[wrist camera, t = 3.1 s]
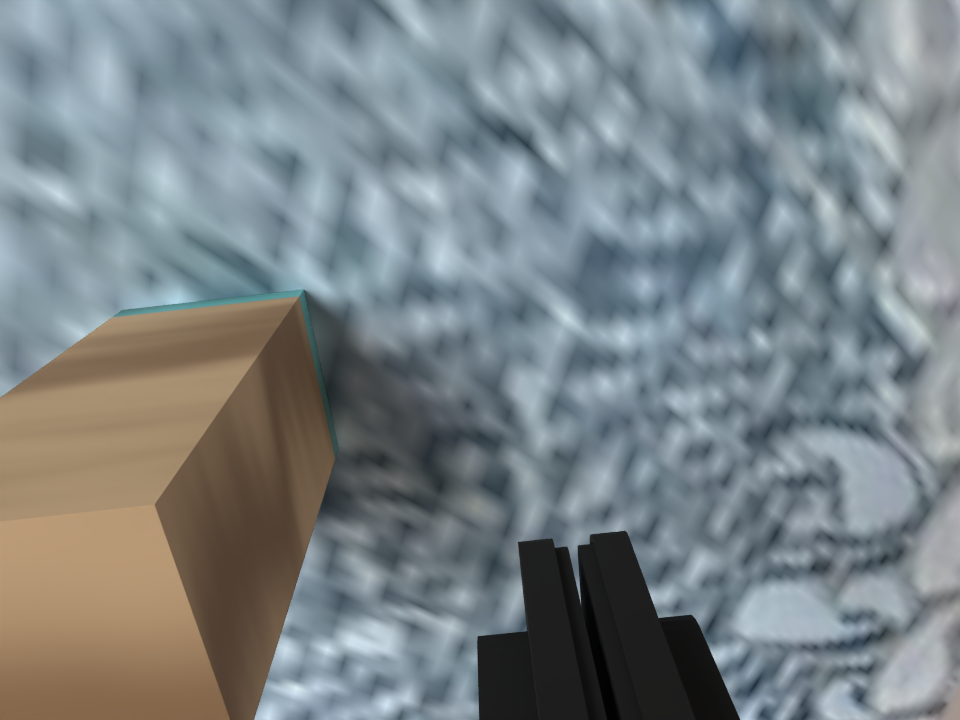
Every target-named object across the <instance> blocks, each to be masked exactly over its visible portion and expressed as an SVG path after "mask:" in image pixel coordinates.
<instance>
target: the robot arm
mask: <svg viewBox="0 0 960 720" xmlns="http://www.w3.org/2000/svg"><path fill="white" fill-rule="evenodd" d="M518 547H519V557H520V566H521V576H522V585H523V595H524V604H525V614H526V624H527V631H526V632H516V633H506V634H496V635H486V636H478V640H477V650H478V687H479V720H740V718H739V716H738V714H737V711H736V709H735V707H734V704H733V702H732V700H731V698H730V695H729V693H728V691H727V688H726V686H725V684H724V681H723V679H722V677H721V675H720V672H719V670H718V668H717V665H716V663H715V661H714V659H713V656H712V654H711V652H710V649H709V647H708V645H707V643H706V640H705V638H704V636H703V633H702V631H701V629H700V627H699V625H698V623H697V621H696V619H695V618H694V617H693V616H692V615H684V616H674V617H664V618H658V615H657V613H656V610H655V607H654V604H653V602H652V599H651V596H650V594H649V591H648V588H647V585H646V583H645V580H644V577H643V574H642V572H641V569H640V566H639V564H638V561H637V558H636V555H635V553H634V550H633V547H632V544H631V542H630V539H629V536H628V534H627V532H626V531H620V532H610V533H600V534H591V535H590V544H588V545H578V562H579V577H580V593H581V603H580V599H579V594H578V590H577V586H576V581H575V577H574V572H573V568H572V564H571V559H570V555H569V550H568V547H559V548H555V547H554V543H553V539H542V540H533V541H523V542H518Z"/></svg>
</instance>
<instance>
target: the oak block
mask: <svg viewBox="0 0 960 720" xmlns="http://www.w3.org/2000/svg"><path fill="white" fill-rule="evenodd" d="M337 452H338V444H337V439H336V435H335V430H334V426H333V421H332V416H331V412H330V407H329V403H328V398H327V393H326V389H325V384H324V380H323V375H322V370H321V366H320V361H319V357H318V352H317V347H316V343H315V338H314V334H313V329H312V324H311V320H310V315H309V311H308V306H307V301H306V297H305V292H304V290H296V291H287V292H278V293H269V294H261V295H252V296H243V297H234V298H225V299H216V300H208V301H199V302H190V303H181V304H172V305H163V306H154V307H146V308H137V309H128V310H122V311H120V312H119V313H118V314H116V315H115V316H113V317H112V318H111V319H109V320H108V321H106V322H105V323H104V324H102V325H101V326H99V327H98V328H97V329H95V330H94V331H93V332H91V333H90V334H88V335H87V336H86V337H84V338H83V339H81V340H80V341H79V342H77V343H76V344H74V345H73V346H72V347H70V348H69V349H67V350H66V351H65V352H63V353H62V354H60V355H59V356H58V357H56V358H55V359H54V360H52V361H51V362H49V363H48V364H47V365H45V366H44V367H42V368H41V369H40V370H38V371H37V372H35V373H34V374H33V375H31V376H30V377H28V378H27V379H26V380H24V381H23V382H21V383H20V384H19V385H17V386H16V387H14V388H13V389H12V390H10V391H9V392H8V393H6V394H5V395H3V396H2V397H1V398H0V720H254V718H255V715H256V711H257V708H258V705H259V702H260V699H261V695H262V692H263V689H264V686H265V683H266V679H267V676H268V673H269V670H270V667H271V663H272V660H273V657H274V654H275V651H276V647H277V644H278V641H279V638H280V634H281V631H282V628H283V625H284V622H285V618H286V615H287V612H288V609H289V606H290V602H291V599H292V596H293V593H294V590H295V586H296V583H297V580H298V577H299V574H300V570H301V567H302V564H303V561H304V558H305V554H306V551H307V548H308V545H309V541H310V538H311V535H312V532H313V529H314V525H315V522H316V519H317V516H318V513H319V509H320V506H321V503H322V500H323V497H324V493H325V490H326V487H327V484H328V481H329V477H330V474H331V471H332V468H333V464H334V461H335V458H336V455H337Z"/></svg>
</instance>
